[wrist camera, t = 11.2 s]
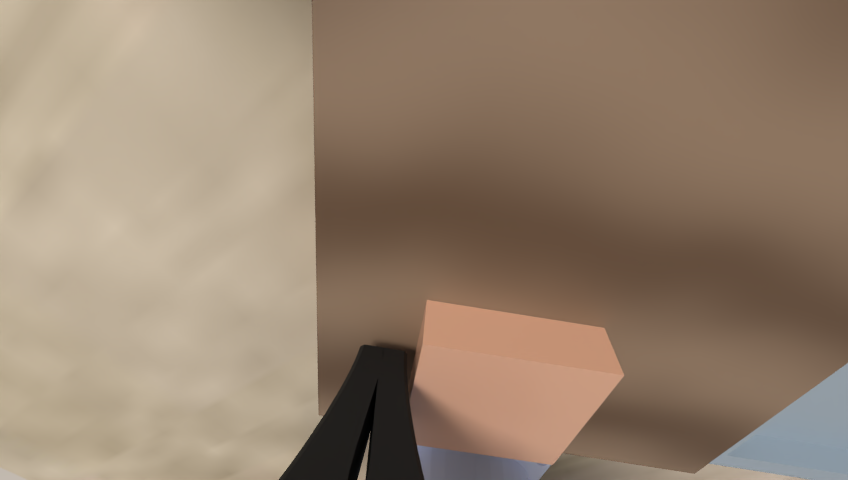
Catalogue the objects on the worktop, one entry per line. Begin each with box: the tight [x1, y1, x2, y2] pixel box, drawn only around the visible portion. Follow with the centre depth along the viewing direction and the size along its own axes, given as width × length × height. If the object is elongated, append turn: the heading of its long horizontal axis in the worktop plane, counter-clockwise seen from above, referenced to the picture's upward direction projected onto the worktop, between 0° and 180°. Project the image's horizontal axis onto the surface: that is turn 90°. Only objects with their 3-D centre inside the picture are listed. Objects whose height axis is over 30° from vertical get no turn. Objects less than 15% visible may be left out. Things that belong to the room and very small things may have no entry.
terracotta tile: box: [408, 300, 624, 465], centre depth 11 cm, size 5×5×2 cm
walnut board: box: [312, 0, 848, 474], centre depth 10 cm, size 18×15×2 cm
